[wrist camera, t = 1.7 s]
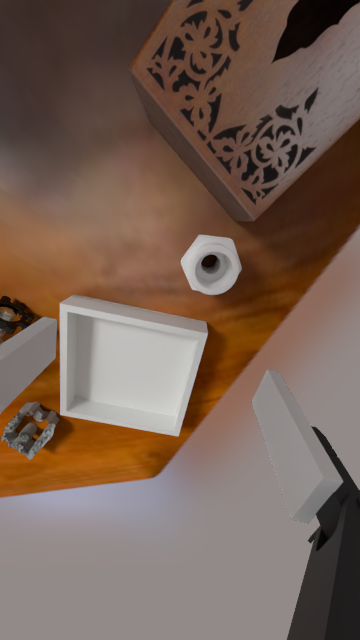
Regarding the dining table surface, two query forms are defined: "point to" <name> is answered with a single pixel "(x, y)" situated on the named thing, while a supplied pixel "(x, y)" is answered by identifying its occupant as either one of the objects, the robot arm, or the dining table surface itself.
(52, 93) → the dining table surface
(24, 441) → the grey open frame part
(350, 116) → the tissue box cover
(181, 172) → the dining table surface
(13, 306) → the valve
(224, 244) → the pipe fitting
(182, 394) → the tray
